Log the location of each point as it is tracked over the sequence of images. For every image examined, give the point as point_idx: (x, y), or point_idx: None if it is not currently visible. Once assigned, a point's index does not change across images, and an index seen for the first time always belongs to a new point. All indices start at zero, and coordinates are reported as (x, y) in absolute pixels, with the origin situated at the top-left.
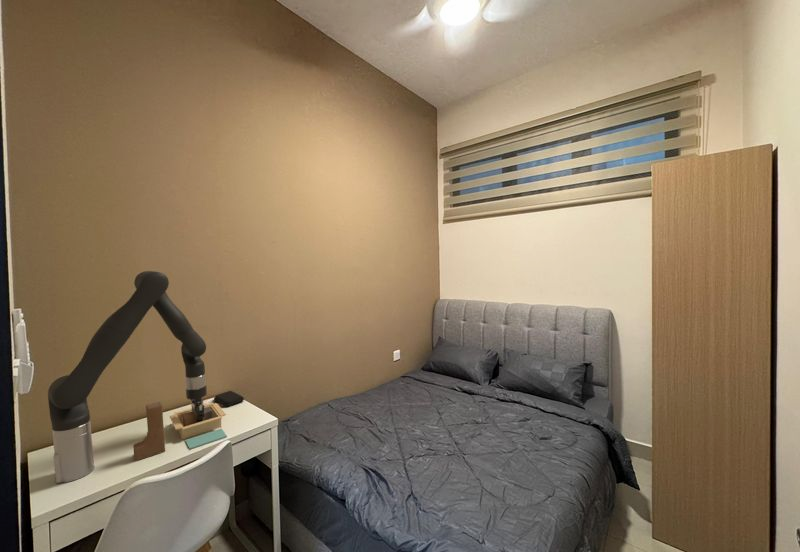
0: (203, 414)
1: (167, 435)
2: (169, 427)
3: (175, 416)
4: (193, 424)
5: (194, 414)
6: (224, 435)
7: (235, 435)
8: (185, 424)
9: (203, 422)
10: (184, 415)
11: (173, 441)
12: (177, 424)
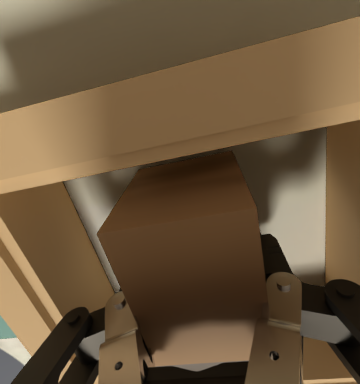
0: (64, 380)
1: (156, 23)
2: (339, 19)
3: (340, 96)
4: (1, 274)
5: (166, 308)
6: (6, 332)
7: (12, 355)
8: (126, 195)
9: (20, 329)
10: (201, 225)
11: (24, 91)
12: (42, 143)
